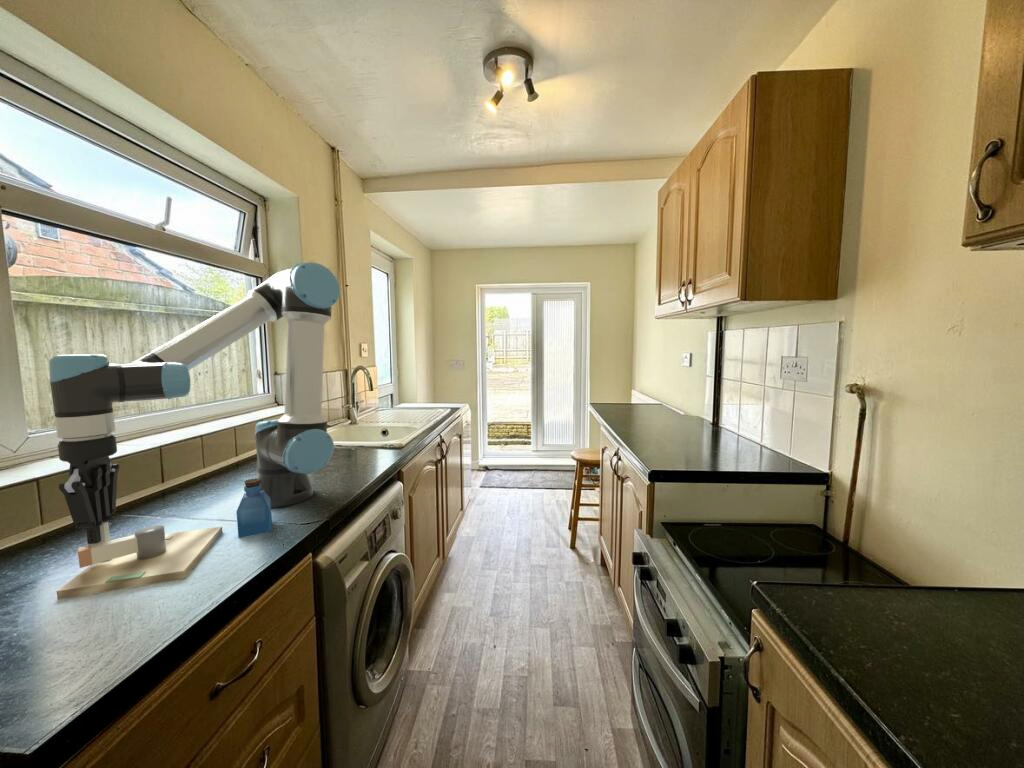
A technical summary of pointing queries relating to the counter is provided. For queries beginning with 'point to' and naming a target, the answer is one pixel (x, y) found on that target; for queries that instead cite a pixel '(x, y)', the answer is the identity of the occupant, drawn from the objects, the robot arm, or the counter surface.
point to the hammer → (126, 547)
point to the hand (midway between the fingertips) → (100, 556)
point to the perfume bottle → (254, 510)
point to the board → (144, 565)
